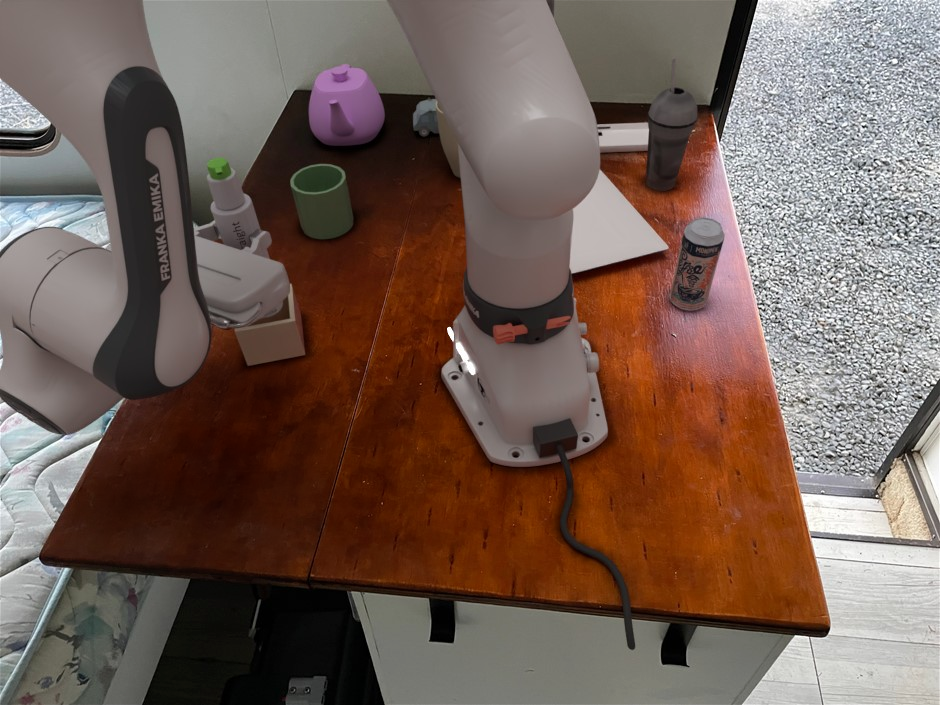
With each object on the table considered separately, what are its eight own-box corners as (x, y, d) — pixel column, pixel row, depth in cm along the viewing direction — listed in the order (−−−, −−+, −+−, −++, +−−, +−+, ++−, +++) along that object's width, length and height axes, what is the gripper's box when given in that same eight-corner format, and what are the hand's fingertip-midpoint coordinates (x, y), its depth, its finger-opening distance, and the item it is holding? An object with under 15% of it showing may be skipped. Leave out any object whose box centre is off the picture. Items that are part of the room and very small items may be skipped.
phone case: (580, 153, 121) (669, 150, 120) (581, 146, 120) (670, 143, 119) (575, 132, 126) (660, 128, 125) (576, 124, 125) (662, 121, 124)
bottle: (244, 319, 86) (190, 174, 72) (251, 295, 89) (201, 152, 75) (279, 318, 86) (232, 173, 71) (286, 294, 89) (242, 150, 74)
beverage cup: (683, 197, 111) (710, 72, 96) (636, 194, 112) (655, 69, 97) (683, 172, 115) (708, 49, 101) (638, 169, 117) (656, 47, 102)
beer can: (666, 308, 93) (682, 234, 85) (672, 285, 96) (688, 212, 88) (703, 316, 92) (723, 242, 83) (708, 293, 95) (728, 219, 86)
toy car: (470, 134, 126) (469, 108, 123) (414, 137, 126) (411, 111, 123) (468, 116, 131) (467, 91, 127) (414, 119, 131) (412, 94, 127)
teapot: (319, 110, 135) (306, 48, 126) (389, 107, 135) (381, 45, 126) (305, 167, 121) (290, 102, 112) (383, 163, 121) (374, 98, 112)
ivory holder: (305, 355, 90) (295, 320, 85) (247, 366, 89) (234, 331, 84) (301, 317, 95) (291, 283, 90) (246, 327, 94) (234, 293, 89)
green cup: (356, 234, 107) (348, 188, 101) (303, 243, 106) (292, 197, 100) (350, 205, 113) (342, 160, 107) (300, 213, 111) (288, 168, 106)
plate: (520, 296, 96) (521, 285, 94) (467, 207, 111) (467, 196, 109) (667, 258, 100) (670, 246, 99) (597, 178, 115) (599, 166, 114)
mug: (489, 190, 114) (487, 121, 105) (432, 180, 116) (426, 112, 108) (510, 156, 121) (510, 88, 112) (456, 147, 124) (452, 80, 115)
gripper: (228, 309, 66) (315, 228, 74) (74, 255, 73) (169, 185, 81) (247, 356, 70) (326, 274, 79) (99, 300, 77) (187, 230, 86)
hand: (245, 229), depth 80 cm, fingers closed on bottle, 4 cm apart
